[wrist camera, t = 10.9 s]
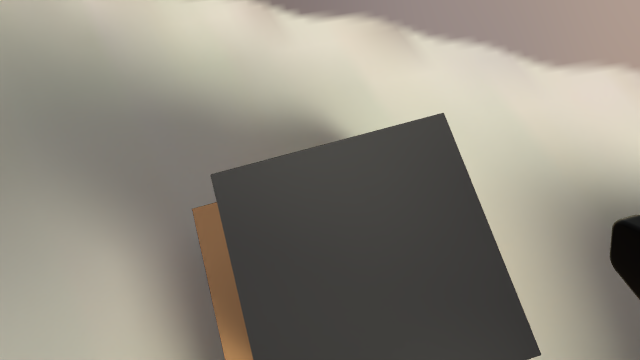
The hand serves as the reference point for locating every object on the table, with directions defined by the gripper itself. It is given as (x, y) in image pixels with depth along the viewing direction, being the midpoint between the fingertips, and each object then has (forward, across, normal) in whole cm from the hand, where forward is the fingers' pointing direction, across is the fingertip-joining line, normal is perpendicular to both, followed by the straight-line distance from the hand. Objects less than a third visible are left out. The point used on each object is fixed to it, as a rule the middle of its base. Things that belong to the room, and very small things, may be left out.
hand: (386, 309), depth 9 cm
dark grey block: (+8, 0, +6) cm, 10 cm away
